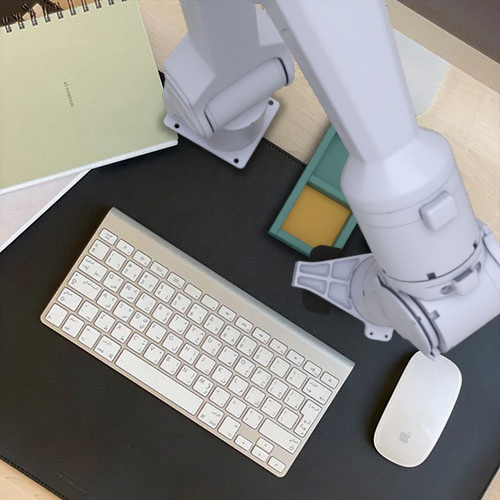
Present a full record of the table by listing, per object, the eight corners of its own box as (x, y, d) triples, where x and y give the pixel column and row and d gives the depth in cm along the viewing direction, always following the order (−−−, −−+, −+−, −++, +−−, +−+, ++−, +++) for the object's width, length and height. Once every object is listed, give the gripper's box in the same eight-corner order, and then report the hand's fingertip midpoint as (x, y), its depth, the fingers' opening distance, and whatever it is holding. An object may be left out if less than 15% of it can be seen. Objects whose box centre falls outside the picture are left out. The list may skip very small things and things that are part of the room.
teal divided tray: (267, 233, 66) (269, 230, 64) (332, 122, 67) (336, 115, 65) (327, 268, 66) (331, 267, 64) (391, 156, 67) (397, 151, 65)
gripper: (293, 326, 46) (277, 318, 59) (491, 362, 46) (430, 346, 60) (310, 229, 46) (290, 243, 60) (506, 266, 47) (442, 271, 60)
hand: (361, 290), depth 60 cm, fingers open, 7 cm apart
